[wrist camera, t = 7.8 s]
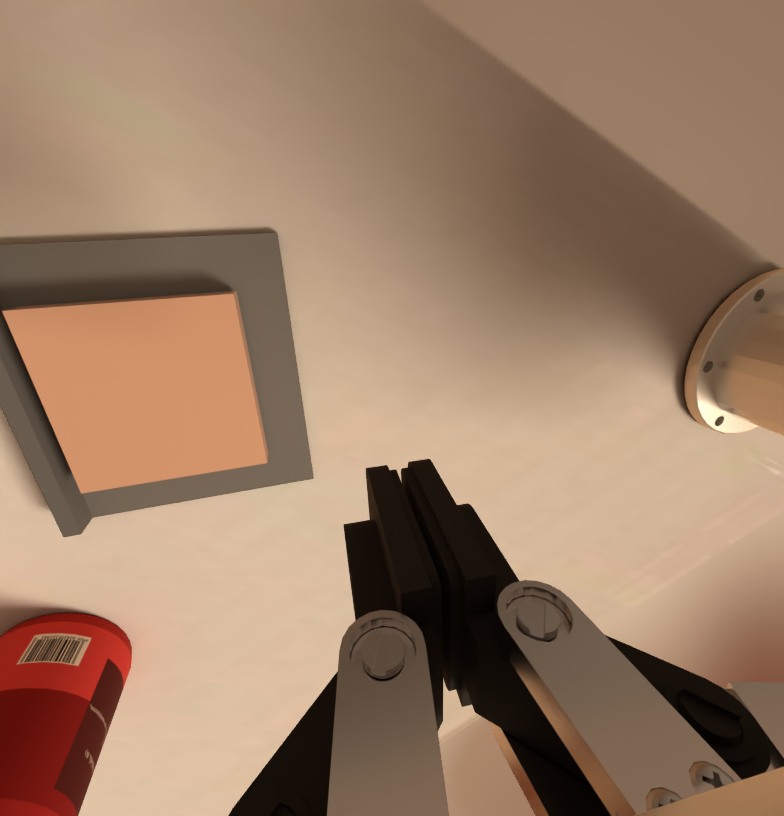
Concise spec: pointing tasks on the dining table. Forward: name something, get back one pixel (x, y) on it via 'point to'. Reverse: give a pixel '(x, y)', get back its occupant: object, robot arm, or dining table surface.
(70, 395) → the tile
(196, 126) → the dining table surface
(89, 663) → the canned food
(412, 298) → the dining table surface
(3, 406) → the mat
